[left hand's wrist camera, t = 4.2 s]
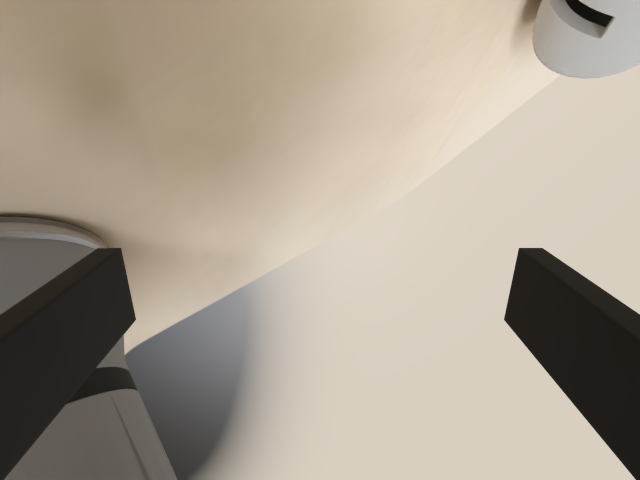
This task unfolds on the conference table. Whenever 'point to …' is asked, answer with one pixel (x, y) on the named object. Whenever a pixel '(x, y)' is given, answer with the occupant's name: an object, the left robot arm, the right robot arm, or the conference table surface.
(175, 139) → the conference table surface
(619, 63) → the projector
